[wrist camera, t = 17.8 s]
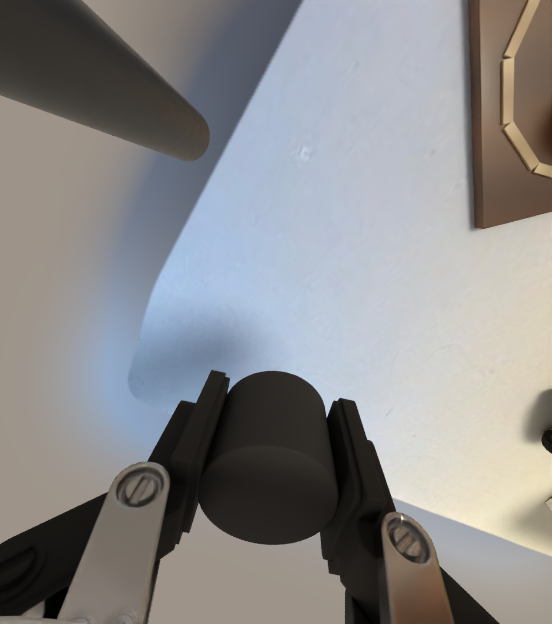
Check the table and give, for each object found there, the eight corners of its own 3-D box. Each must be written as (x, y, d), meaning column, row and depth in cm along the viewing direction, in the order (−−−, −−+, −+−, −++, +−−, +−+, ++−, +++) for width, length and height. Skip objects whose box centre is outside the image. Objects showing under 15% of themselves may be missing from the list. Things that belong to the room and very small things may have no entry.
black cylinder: (209, 380, 11) (175, 459, 8) (314, 360, 10) (324, 435, 7) (240, 458, 12) (222, 552, 9) (333, 443, 12) (350, 538, 8)
